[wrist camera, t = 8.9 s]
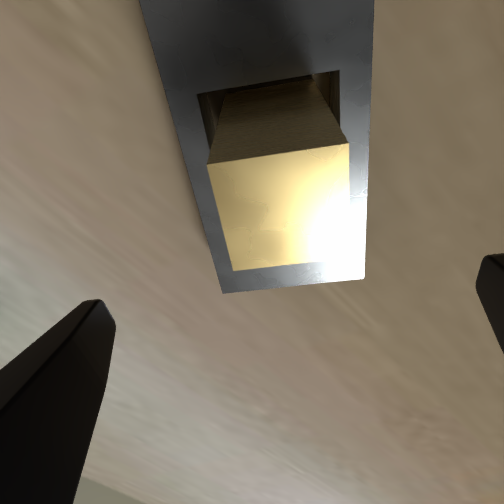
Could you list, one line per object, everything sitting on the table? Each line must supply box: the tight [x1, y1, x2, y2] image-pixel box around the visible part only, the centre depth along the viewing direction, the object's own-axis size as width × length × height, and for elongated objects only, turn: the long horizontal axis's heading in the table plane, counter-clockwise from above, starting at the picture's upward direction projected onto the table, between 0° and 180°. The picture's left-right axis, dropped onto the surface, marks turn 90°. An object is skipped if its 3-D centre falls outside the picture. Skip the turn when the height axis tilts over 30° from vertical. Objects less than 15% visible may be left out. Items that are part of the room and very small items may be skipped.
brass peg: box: [207, 79, 349, 271], centre depth 14 cm, size 4×4×8 cm
